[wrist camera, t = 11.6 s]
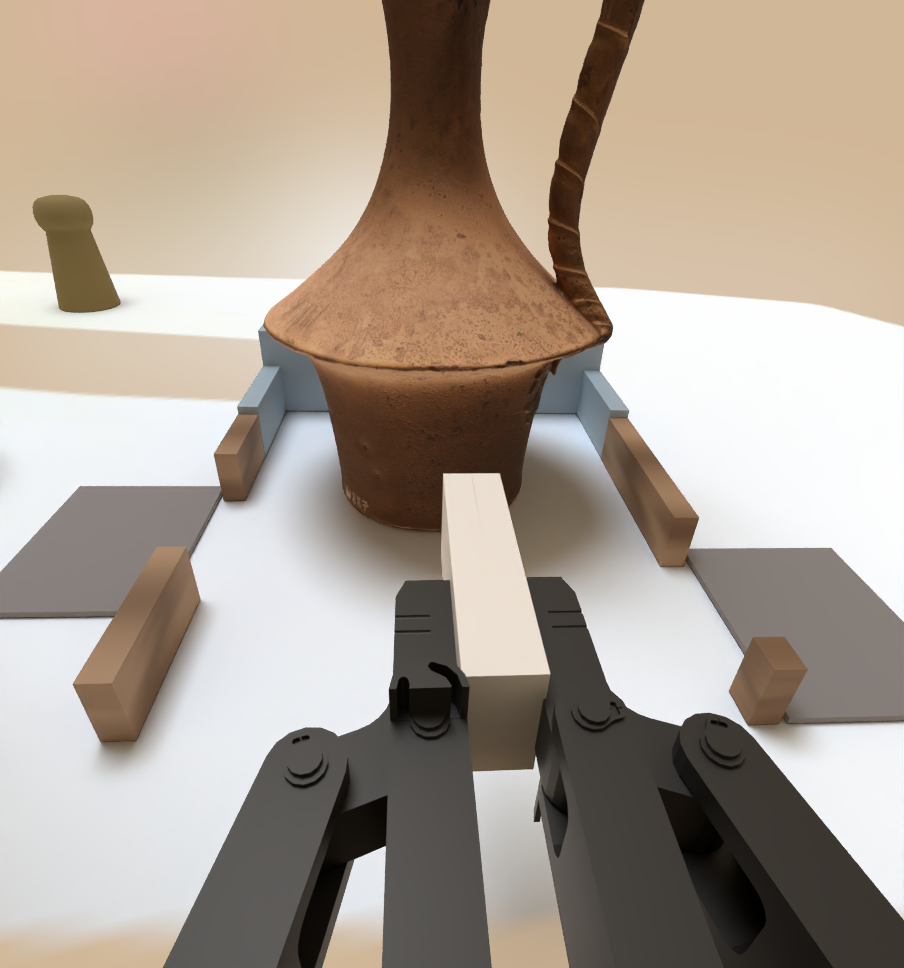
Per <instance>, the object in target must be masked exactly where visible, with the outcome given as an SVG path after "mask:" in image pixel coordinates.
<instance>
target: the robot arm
mask: <svg viewBox="0 0 904 968" xmlns="http://www.w3.org/2000/svg"><path fill="white" fill-rule="evenodd" d="M441 563H442V577H443V580H419V581H405V583H404V584H403V586H402V587H401V589H400V591H399V592H398V594H397V596H396V605H395V635H394V664H393V676H392V680H391V683H390V687H389V704H388V706H387V709H386V710H385V711H384V712H383V713H382V715H381V716H380V717H379V718H378V719H376V720H375V721H374V722H372V723H371V724H370V725H367V726H365V727H363V728H361V729H359V730H356V731H353V732H350V733H347V734H344V735H341V736H339V737H338V736H337V735H336V734H335V733H333V732H331V731H328V730H326V729H323V728H303V729H300V730H297V731H294V732H291V733H289V734H288V735H286V736H285V737H284V738H282V739H281V740H279V741H278V742H277V743H276V744H275V745H274V747H273V748H272V749H271V751H270V752H269V753H268V755H267V756H266V758H265V760H264V762H263V764H262V766H261V768H260V770H259V773H258V775H257V777H256V779H255V781H254V783H253V785H252V787H251V789H250V791H249V793H248V795H247V797H246V799H245V801H244V803H243V805H242V807H241V809H240V811H239V813H238V815H237V817H236V819H235V822H234V824H233V826H232V828H231V830H230V832H229V834H228V836H227V838H226V840H225V842H224V844H223V846H222V848H221V850H220V852H219V854H218V856H217V858H216V860H215V862H214V864H213V866H212V869H211V871H210V873H209V875H208V877H207V879H206V881H205V883H204V885H203V887H202V889H201V891H200V893H199V895H198V897H197V899H196V901H195V903H194V905H193V907H192V909H191V911H190V913H189V915H188V918H187V920H186V922H185V924H184V926H183V928H182V930H181V932H180V934H179V936H178V938H177V940H176V942H175V944H174V946H173V948H172V950H171V952H170V954H169V956H168V959H167V960H166V963H165V965H164V967H163V968H322V966H323V963H324V959H325V956H326V953H327V949H328V946H329V942H330V939H331V936H332V932H333V929H334V926H335V922H336V919H337V916H338V912H339V909H340V906H341V902H342V899H343V896H344V892H345V889H346V886H347V882H348V879H349V876H350V872H351V869H352V866H353V862H354V859H356V858H358V857H361V856H363V855H365V854H368V853H370V852H372V851H375V850H377V849H379V848H382V847H384V846H386V863H385V893H384V924H383V954H382V968H492V967H491V956H490V946H489V936H488V926H487V915H486V905H485V895H484V884H483V874H482V864H481V854H480V843H479V833H478V823H477V813H476V802H475V792H474V782H473V771H495V770H521V769H533V767H534V761H535V756H536V757H537V762H538V767H539V772H540V782H539V787H538V792H537V797H536V802H535V807H534V822H540V818H541V817H542V822H543V827H544V833H545V838H546V844H547V849H548V854H549V860H550V865H551V871H552V876H553V881H554V887H555V892H556V897H557V903H558V908H559V914H560V919H561V924H562V930H563V935H564V941H565V946H566V951H567V957H568V962H569V968H904V920H903V919H902V917H901V916H900V915H899V914H898V913H897V911H896V910H895V909H894V908H893V906H892V905H891V904H890V903H889V902H888V900H887V899H886V898H885V897H884V895H883V894H882V893H881V892H880V891H879V889H878V888H877V887H876V886H875V885H874V883H873V882H872V881H871V880H870V878H869V877H868V876H867V875H866V874H865V872H864V871H863V870H862V869H861V868H860V866H859V865H858V864H857V863H856V861H855V860H854V859H853V858H852V857H851V855H850V854H849V853H848V852H847V851H846V849H845V848H844V847H843V846H842V844H841V843H840V842H839V841H838V840H837V838H836V837H835V836H834V835H833V834H832V832H831V831H830V830H829V829H828V827H827V826H826V825H825V824H824V823H823V821H822V820H821V819H820V818H819V817H818V815H817V814H816V813H815V812H814V810H813V809H812V808H811V807H810V806H809V804H808V803H807V802H806V801H805V800H804V798H803V797H802V796H801V795H800V793H799V792H798V791H797V790H796V789H795V787H794V786H793V785H792V784H791V783H790V781H789V780H788V779H787V778H786V776H785V775H784V774H783V773H782V772H781V770H780V769H779V768H778V767H777V766H776V764H775V763H774V762H773V761H772V759H771V758H770V757H769V756H768V755H767V753H766V752H765V751H764V750H763V749H762V747H761V746H760V745H759V744H758V742H757V741H756V740H755V739H754V738H753V737H752V736H751V735H750V734H749V733H748V732H747V731H746V730H745V729H744V728H743V727H742V726H741V725H739V724H737V723H735V722H734V721H732V720H730V719H728V718H726V717H724V716H720V715H716V714H712V713H701V714H694V715H693V716H691V717H689V718H687V719H686V720H685V721H684V723H683V725H682V727H681V726H678V725H674V724H670V723H666V722H662V721H658V720H655V719H651V718H648V717H645V716H642V715H640V714H637V713H636V712H634V711H632V710H630V709H629V708H627V707H626V706H625V704H624V702H623V701H622V700H621V699H620V698H619V697H618V696H616V695H615V694H614V693H613V692H612V691H611V690H610V688H609V686H608V684H607V682H606V679H605V676H604V673H603V671H602V668H601V665H600V662H599V659H598V656H597V653H596V651H595V648H594V645H593V642H592V639H591V636H590V633H589V631H588V629H587V627H586V626H587V625H586V622H585V619H584V616H583V614H582V613H581V608H580V605H579V602H578V599H577V596H576V594H575V592H574V591H573V590H572V589H571V587H570V586H569V585H568V584H567V583H566V582H565V581H564V580H563V579H562V578H561V577H526V575H525V572H524V568H523V564H522V560H521V556H520V552H519V548H518V544H517V540H516V536H515V532H514V528H513V524H512V520H511V516H510V512H509V508H508V504H507V500H506V497H505V493H504V489H503V485H502V481H501V477H500V473H472V474H443V500H442V535H441Z"/></svg>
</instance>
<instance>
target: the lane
mask: <svg viewBox="0 0 904 968" xmlns="http://www.w3.org/2000/svg"><path fill="white" fill-rule="evenodd" d="M214 457H215V462H216V467H217V471H218V476H219V481H220V486H221V490H222V495H223V500H246V498H247V495H248V493H249V491H250V489H251V487H252V484H253V482H254V480H255V478H256V476H257V473H258V471H259V469H260V467H261V465H262V462H263V460H264V458H265V454H264V448H263V442H262V436H261V429H260V423H259V417H258V415H257V414H238V415H237V417H236V419H235V420H234V422H233V424H232V425H231V427H230V428H229V430H228V432H227V433H226V435H225V437H224V438H223V440H222V442H221V443H220V445H219V446H218V448H217V450H216V451H215V453H214ZM601 460H602V461H603V463H604V465H605V467H606V469H607V470H608V472H609V474H610V476H611V478H612V480H613V481H614V483H615V485H616V487H617V489H618V490H619V492H620V494H621V496H622V498H623V499H624V501H625V503H626V505H627V507H628V509H629V510H630V512H631V514H632V516H633V518H634V519H635V521H636V523H637V525H638V527H639V528H640V530H641V532H642V534H643V536H644V538H645V539H646V541H647V543H648V545H649V547H650V548H651V550H652V552H653V554H654V556H655V558H656V559H657V561H658V563H659V565H660V566H684V563H685V560H686V557H687V554H688V550H689V547H690V544H691V541H692V538H693V535H694V532H695V529H696V526H697V523H698V520H699V517H698V515H697V514H696V513H695V511H694V510H693V508H692V507H691V506H690V504H689V503H688V502H687V500H686V499H685V497H684V496H683V495H682V493H681V492H680V490H679V489H678V488H677V486H676V485H675V483H674V482H673V481H672V479H671V478H670V476H669V475H668V474H667V472H666V471H665V469H664V468H663V467H662V465H661V464H660V463H659V461H658V460H657V458H656V457H655V456H654V454H653V453H652V451H651V450H650V449H649V447H648V446H647V444H646V443H645V442H644V440H643V439H642V437H641V436H640V435H639V433H638V432H637V430H636V429H635V428H634V426H633V425H632V424H631V422H630V421H629V419H628V418H609V420H608V425H607V430H606V435H605V440H604V445H603V450H602V455H601ZM199 601H200V596H199V592H198V588H197V585H196V581H195V577H194V574H193V570H192V566H191V562H190V559H189V555H188V551H187V548H186V547H156V549H155V551H154V552H153V554H152V556H151V557H150V559H149V561H148V562H147V564H146V565H145V567H144V569H143V570H142V572H141V574H140V575H139V577H138V578H137V580H136V582H135V583H134V585H133V587H132V588H131V590H130V591H129V593H128V595H127V596H126V598H125V600H124V601H123V603H122V605H121V606H120V608H119V609H118V611H117V613H116V614H115V616H114V618H113V619H112V621H111V622H110V624H109V626H108V627H107V629H106V631H105V632H104V634H103V635H102V637H101V639H100V640H99V642H98V644H97V645H96V647H95V649H94V650H93V652H92V653H91V655H90V657H89V658H88V660H87V662H86V663H85V665H84V666H83V668H82V670H81V671H80V673H79V675H78V676H77V678H76V679H75V681H74V683H73V686H74V688H75V690H76V692H77V694H78V696H79V698H80V701H81V703H82V705H83V707H84V709H85V711H86V713H87V715H88V717H89V719H90V721H91V723H92V726H93V728H94V730H95V732H96V734H97V736H98V738H99V740H100V741H136V739H137V737H138V735H139V733H140V731H141V728H142V726H143V724H144V722H145V720H146V717H147V715H148V713H149V711H150V709H151V706H152V704H153V702H154V700H155V698H156V695H157V693H158V691H159V689H160V687H161V684H162V682H163V680H164V678H165V676H166V673H167V671H168V669H169V667H170V665H171V662H172V660H173V658H174V656H175V654H176V651H177V649H178V647H179V645H180V643H181V640H182V638H183V636H184V634H185V632H186V629H187V627H188V625H189V623H190V621H191V618H192V616H193V614H194V612H195V610H196V607H197V605H198V603H199ZM807 671H808V669H807V667H806V666H805V665H804V663H803V662H802V660H801V659H800V658H799V656H798V655H797V653H796V652H795V651H794V649H793V648H792V646H791V645H790V644H789V642H788V641H787V639H786V638H785V637H753V638H752V640H751V642H750V645H749V647H748V649H747V651H746V654H745V656H744V658H743V660H742V663H741V665H740V667H739V669H738V672H737V674H736V676H735V678H734V681H733V683H732V685H731V687H730V690H729V692H730V694H731V695H732V697H733V699H734V701H735V703H736V704H737V706H738V708H739V710H740V712H741V713H742V715H743V717H744V719H745V721H746V723H747V724H748V725H751V724H779V722H780V720H781V719H782V717H783V715H784V713H785V711H786V709H787V708H788V706H789V704H790V702H791V700H792V698H793V696H794V695H795V693H796V691H797V689H798V687H799V685H800V684H801V682H802V680H803V678H804V676H805V674H806V672H807Z"/></svg>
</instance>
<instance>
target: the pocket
mask: <svg viewBox="0 0 904 968" xmlns="http://www.w3.org/2000/svg"><path fill="white" fill-rule="evenodd" d="M258 333H259V339H260V346H261V353H262V360H263V367H262V369H261V370H260V372H259V373H258V375H257V376H256V378H255V380H254V381H253V383H252V384H251V386H250V388H249V389H248V391H247V392H246V394H245V396H244V397H243V399H242V400H241V402H240V403H239V405H238V406H237V407H238V413H239V414H257V415H258V417H259V423H260V429H261V436H262V442H263V448H264V454H265V457H266V454H267V452H268V450H269V448H270V446H271V443H272V441H273V439H274V437H275V435H276V432H277V430H278V428H279V426H280V424H281V421H282V419H283V417H284V415H285V412H286V411H329V409H328V406H327V402H326V398H325V394H324V391H323V387H322V384H321V382H320V379H319V376H318V373H317V371H316V369H315V367H314V364H313V363H312V361H311V359H310V358H309V357H308V356H307V355H303V354H301V353H296V352H294V351H293V350H291V349H289V348H287V347H285V346H284V345H282V344H280V343H278V342H276V341H275V340H274V338H272V337H271V336H270V335H269V334H268V333H267V332H266V329H265V328H264V326H262V327H261V328H260V329H259V331H258ZM603 348H604V344H602V345H600V346H597V347H594V348H590V349H588V350H586V351H584V352H581V353H579V354H576V355H574V356H572V357H569V358H563V359H562V360H561V361H560V363H559V365H558V367H557V370H556V374H555V375H553V374H552V372H551V371H550V372H549V373H548V376H547V379H546V381H545V384H544V387H543V390H542V393H541V399H540V403H539V407H538V410H537V411H536V412H535V413H576V414H577V415H578V417H579V419H580V421H581V423H582V425H583V426H584V428H585V430H586V432H587V434H588V435H589V437H590V439H591V441H592V443H593V444H594V446H595V448H596V450H597V452H598V454H599V455H600V457H601V455H602V450H603V445H604V440H605V435H606V430H607V425H608V420H609V418H628V413H629V410H628V408H627V407H626V406H625V404H624V403H623V401H622V400H621V399H620V397H619V396H618V395H617V393H616V392H615V391H614V389H613V388H612V387H611V385H610V384H609V383H608V381H607V380H606V379H605V377H604V376H603V375H602V373H601V372H600V364H601V359H602V353H603Z"/></svg>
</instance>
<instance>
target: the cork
mask: <svg viewBox="0 0 904 968" xmlns="http://www.w3.org/2000/svg"><path fill="white" fill-rule="evenodd" d="M33 214H34V217H35V220H36V221H37V223H38V225H39V226H40V227H41V228H42V229H43V230H44V231H46V236H47V242H48V247H49V253H50V259H51V265H52V270H53V276H54V282H55V288H56V293H57V299H58V305H59V308H60V309H61V310H63V311H67V312H94V311H101V310H106V309H110V308H113V307H116V306H118V305H119V304H120V300H119V297H118V295H117V292H116V290H115V288H114V285H113V283H112V280H111V278H110V276H109V273H108V271H107V269H106V266H105V264H104V261H103V259H102V256H101V254H100V252H99V249H98V247H97V244H96V242H95V240H94V237H93V235H92V232H91V227H92V225H93V215H92V211H91V209H90V207H89V205H88V204H87V203H86V202H85V201H84V200H82V199H80V198H78V197H73V196H67V195H51V196H45V197H42V198H38V199H37V200H36V201H34V204H33Z"/></svg>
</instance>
